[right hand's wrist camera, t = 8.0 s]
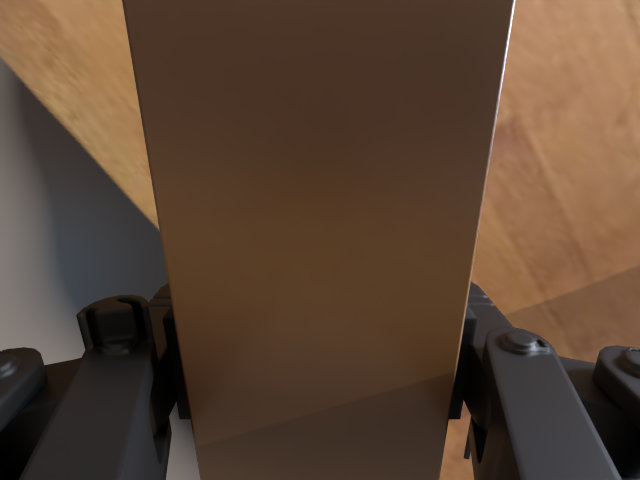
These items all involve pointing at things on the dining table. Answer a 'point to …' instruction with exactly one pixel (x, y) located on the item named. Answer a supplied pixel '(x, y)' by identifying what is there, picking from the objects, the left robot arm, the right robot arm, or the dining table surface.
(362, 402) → the post
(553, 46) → the dining table surface
